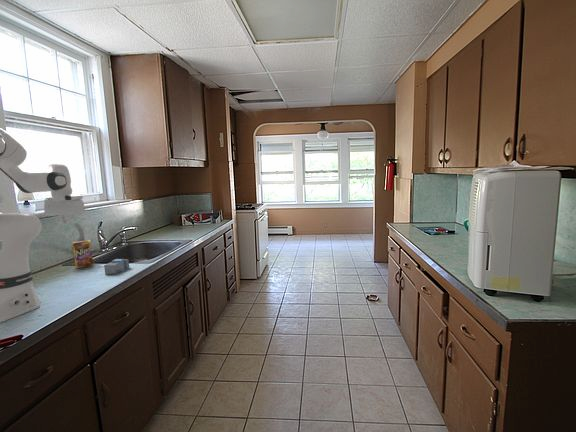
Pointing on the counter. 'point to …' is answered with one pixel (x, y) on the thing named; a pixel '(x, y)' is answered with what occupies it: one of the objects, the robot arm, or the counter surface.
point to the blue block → (120, 262)
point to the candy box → (83, 254)
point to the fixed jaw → (126, 263)
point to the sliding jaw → (112, 268)
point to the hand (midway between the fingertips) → (66, 223)
